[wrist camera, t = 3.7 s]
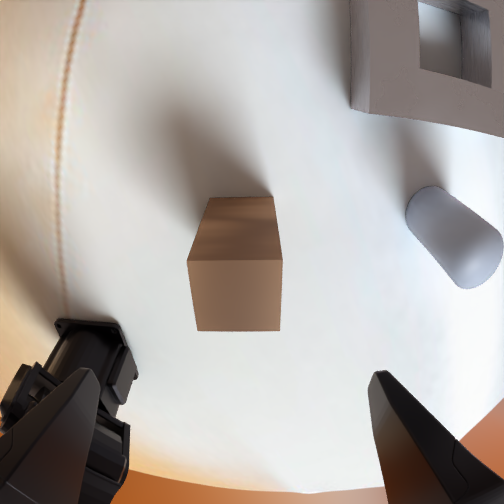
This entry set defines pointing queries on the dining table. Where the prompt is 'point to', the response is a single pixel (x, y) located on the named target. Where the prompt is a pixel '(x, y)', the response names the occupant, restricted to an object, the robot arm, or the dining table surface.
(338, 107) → the dining table surface
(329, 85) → the dining table surface
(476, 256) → the round dowel
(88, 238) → the dining table surface
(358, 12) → the socket block
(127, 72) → the dining table surface
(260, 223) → the square peg
